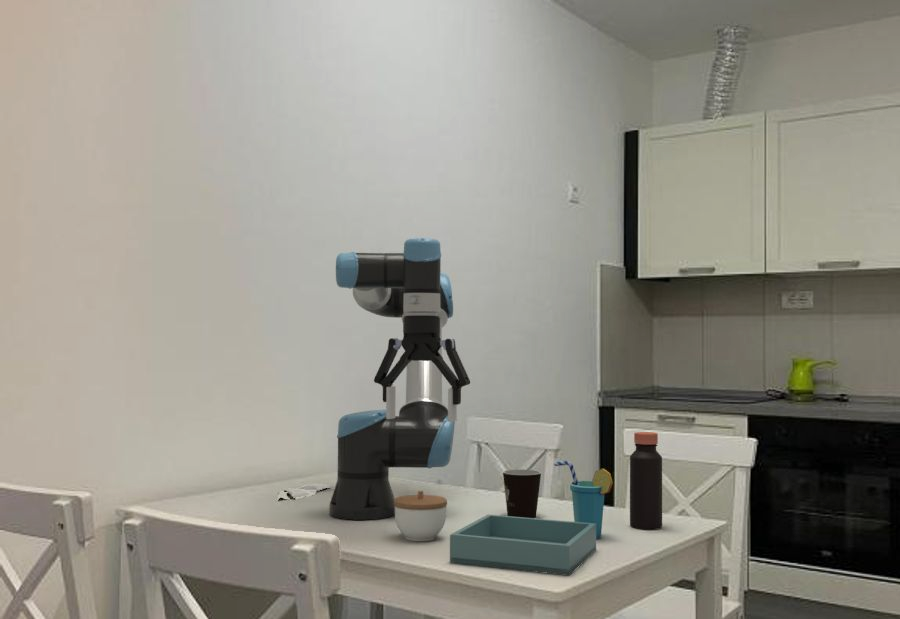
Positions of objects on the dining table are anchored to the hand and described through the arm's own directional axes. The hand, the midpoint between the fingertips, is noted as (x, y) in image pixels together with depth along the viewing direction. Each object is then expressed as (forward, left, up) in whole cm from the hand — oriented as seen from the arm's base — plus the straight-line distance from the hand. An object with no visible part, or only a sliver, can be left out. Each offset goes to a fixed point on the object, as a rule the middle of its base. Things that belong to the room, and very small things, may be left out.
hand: (421, 420), depth 183 cm
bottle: (+40, +29, -24) cm, 55 cm away
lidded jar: (0, 0, -24) cm, 24 cm away
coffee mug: (+12, +30, -24) cm, 40 cm away
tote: (+24, -6, -24) cm, 34 cm away
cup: (+30, +15, -24) cm, 41 cm away
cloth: (-49, +35, -25) cm, 65 cm away
